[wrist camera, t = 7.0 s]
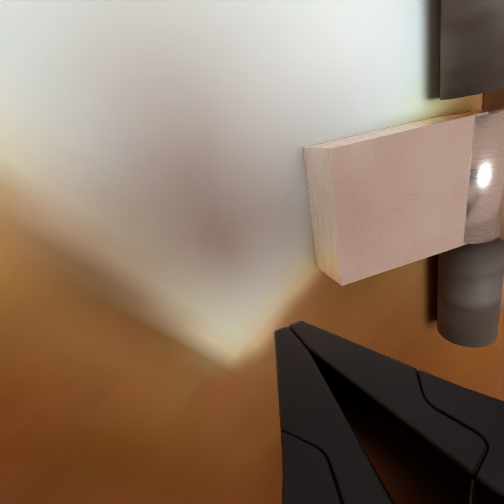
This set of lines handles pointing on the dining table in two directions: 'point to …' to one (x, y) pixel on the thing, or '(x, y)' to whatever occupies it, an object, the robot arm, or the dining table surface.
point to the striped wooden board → (500, 250)
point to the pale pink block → (405, 192)
